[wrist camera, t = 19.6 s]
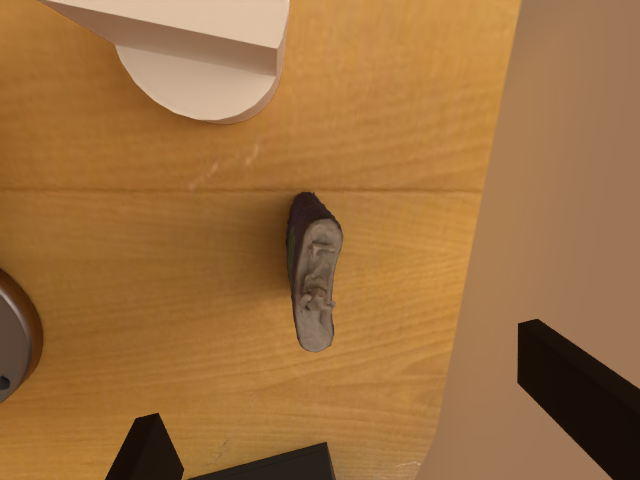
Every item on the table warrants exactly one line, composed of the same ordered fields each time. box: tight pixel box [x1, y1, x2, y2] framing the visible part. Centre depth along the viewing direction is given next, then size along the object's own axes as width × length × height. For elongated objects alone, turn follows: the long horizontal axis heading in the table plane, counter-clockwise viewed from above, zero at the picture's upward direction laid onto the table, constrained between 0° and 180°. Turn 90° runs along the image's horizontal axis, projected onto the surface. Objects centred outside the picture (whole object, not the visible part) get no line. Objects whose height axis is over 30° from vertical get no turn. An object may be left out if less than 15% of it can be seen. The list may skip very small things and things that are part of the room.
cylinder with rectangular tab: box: [38, 0, 290, 124], centre depth 17 cm, size 9×9×12 cm
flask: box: [286, 192, 343, 352], centre depth 23 cm, size 9×3×11 cm, turn 176°
